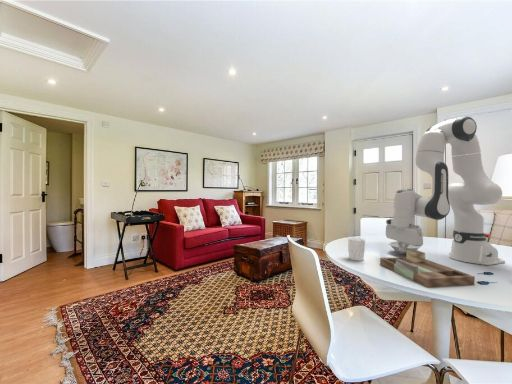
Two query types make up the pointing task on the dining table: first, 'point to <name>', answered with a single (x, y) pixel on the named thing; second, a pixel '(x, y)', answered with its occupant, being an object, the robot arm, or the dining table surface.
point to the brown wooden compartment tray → (427, 272)
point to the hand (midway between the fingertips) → (402, 251)
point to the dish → (396, 247)
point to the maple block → (415, 256)
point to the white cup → (356, 248)
